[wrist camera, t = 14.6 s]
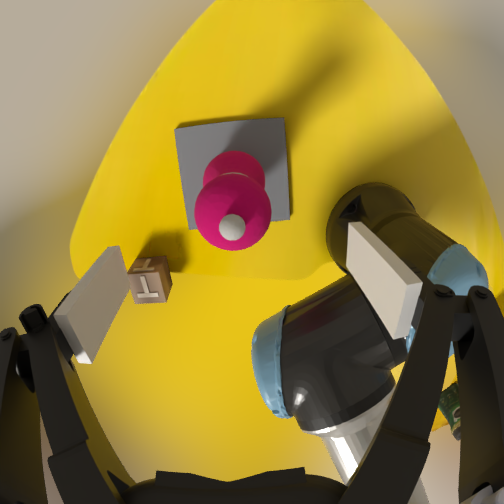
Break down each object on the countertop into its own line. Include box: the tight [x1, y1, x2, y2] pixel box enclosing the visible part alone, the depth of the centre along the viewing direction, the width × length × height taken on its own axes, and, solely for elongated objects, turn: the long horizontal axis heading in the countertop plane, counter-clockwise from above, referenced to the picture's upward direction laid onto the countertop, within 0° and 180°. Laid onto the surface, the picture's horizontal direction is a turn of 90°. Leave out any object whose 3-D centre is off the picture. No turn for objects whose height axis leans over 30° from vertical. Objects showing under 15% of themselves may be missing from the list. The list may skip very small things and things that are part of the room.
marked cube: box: [127, 256, 172, 304], centre depth 41 cm, size 5×5×5 cm
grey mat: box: [174, 118, 290, 230], centre depth 37 cm, size 14×14×1 cm
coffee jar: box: [438, 383, 461, 440], centre depth 60 cm, size 10×8×19 cm
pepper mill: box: [194, 151, 272, 251], centre depth 27 cm, size 7×7×20 cm
